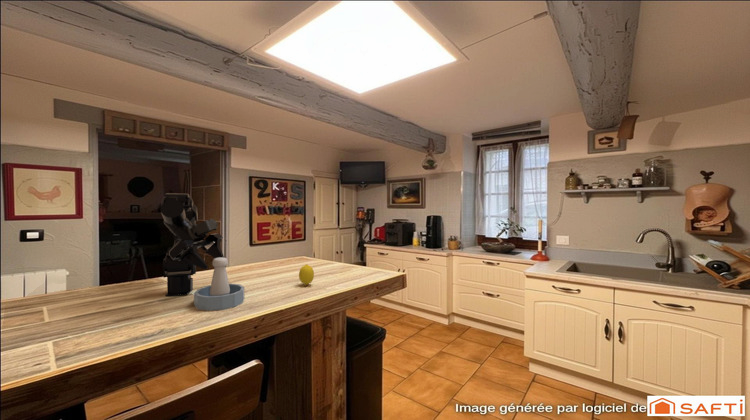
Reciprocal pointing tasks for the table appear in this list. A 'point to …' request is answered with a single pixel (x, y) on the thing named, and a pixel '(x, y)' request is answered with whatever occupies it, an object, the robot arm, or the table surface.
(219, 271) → the salt shaker
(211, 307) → the bowl
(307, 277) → the lemon
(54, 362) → the table surface
